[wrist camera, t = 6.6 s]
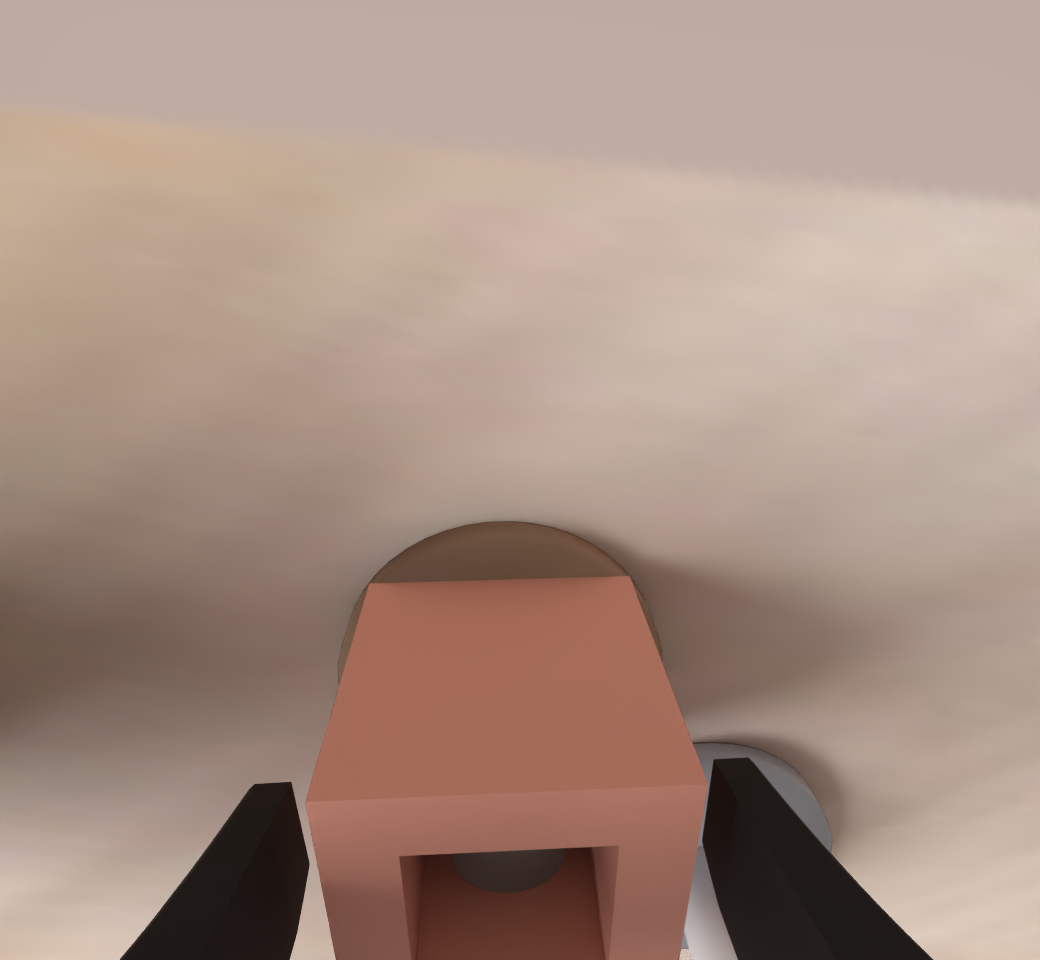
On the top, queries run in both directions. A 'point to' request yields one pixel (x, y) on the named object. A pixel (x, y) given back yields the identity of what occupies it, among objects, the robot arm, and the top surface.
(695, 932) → the stand
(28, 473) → the top surface
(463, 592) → the salmon square tube
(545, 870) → the hub
